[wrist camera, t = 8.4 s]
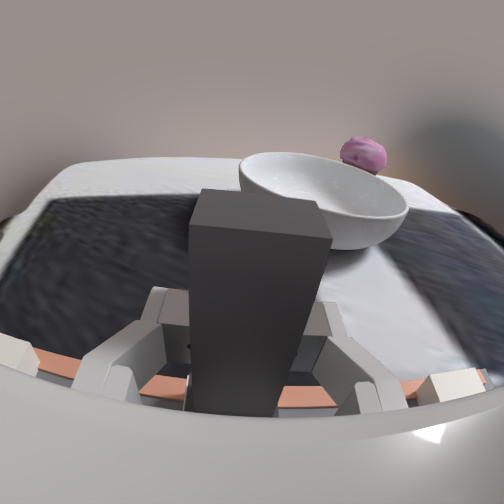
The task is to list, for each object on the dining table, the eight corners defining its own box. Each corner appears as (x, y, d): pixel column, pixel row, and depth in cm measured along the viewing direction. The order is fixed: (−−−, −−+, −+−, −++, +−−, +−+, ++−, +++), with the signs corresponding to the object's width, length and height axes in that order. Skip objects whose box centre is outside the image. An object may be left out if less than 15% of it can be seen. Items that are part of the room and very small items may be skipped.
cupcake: (340, 176, 59) (350, 130, 54) (380, 190, 56) (393, 143, 51) (327, 186, 53) (338, 132, 47) (372, 202, 49) (387, 148, 44)
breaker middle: (190, 381, 14) (187, 179, 8) (273, 387, 14) (328, 194, 9) (182, 440, 11) (157, 237, 6) (276, 446, 11) (362, 257, 6)
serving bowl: (392, 299, 28) (418, 239, 24) (201, 237, 33) (205, 177, 30) (390, 220, 44) (403, 179, 41) (266, 183, 50) (272, 143, 46)
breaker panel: (-19, 343, 16) (-40, 305, 14) (472, 383, 19) (498, 351, 17) (-78, 482, 4) (-116, 454, 2) (518, 519, 7) (558, 498, 5)
